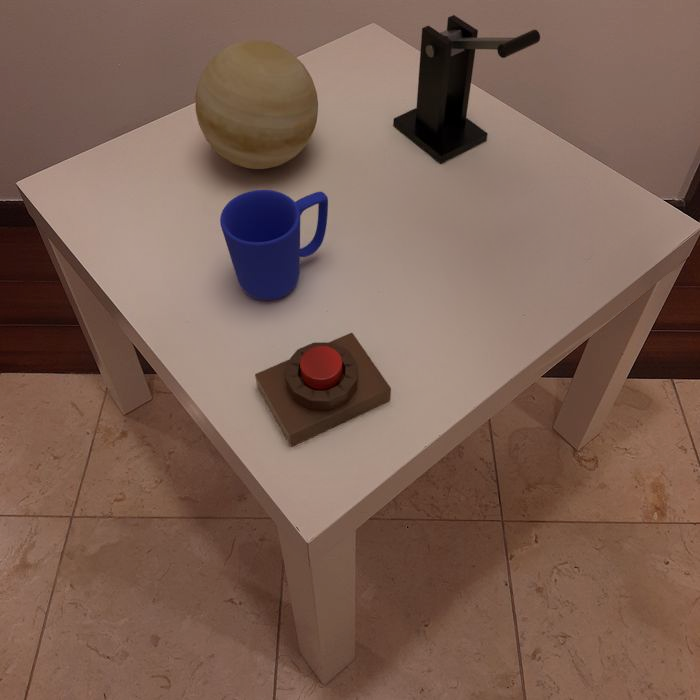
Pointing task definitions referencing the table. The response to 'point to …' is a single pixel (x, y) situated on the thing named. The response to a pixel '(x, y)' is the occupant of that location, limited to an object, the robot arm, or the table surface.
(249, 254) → the mug
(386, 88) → the table surface
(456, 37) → the switch lever
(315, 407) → the button block
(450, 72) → the switch bracket
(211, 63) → the decorative ball
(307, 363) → the power button
